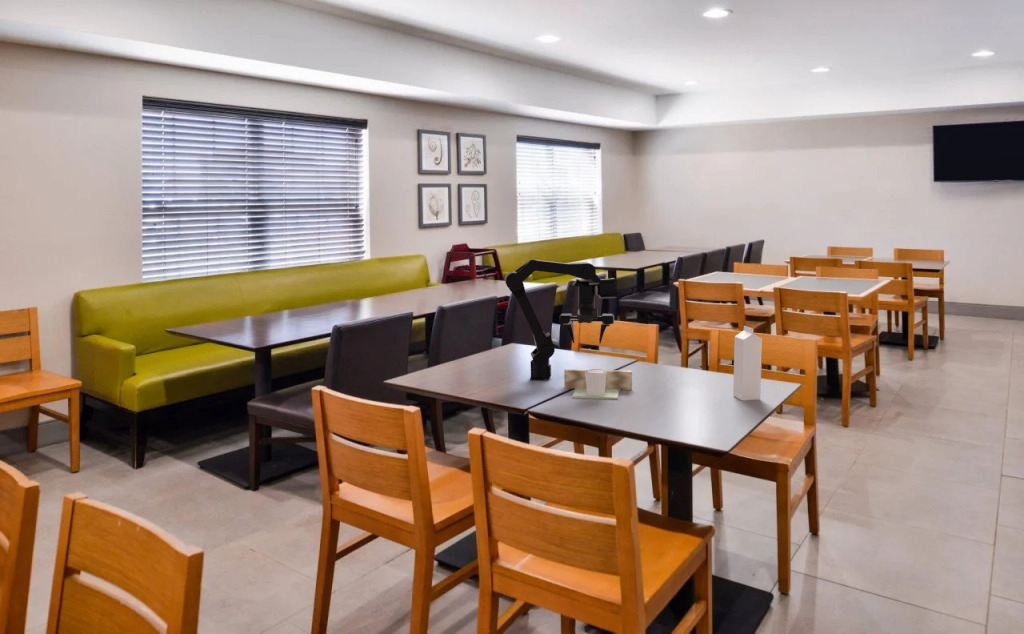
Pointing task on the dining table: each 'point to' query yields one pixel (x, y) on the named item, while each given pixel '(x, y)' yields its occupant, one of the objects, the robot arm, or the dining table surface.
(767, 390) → the dining table surface
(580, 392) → the pad
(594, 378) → the white cup
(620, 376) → the board
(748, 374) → the milk
